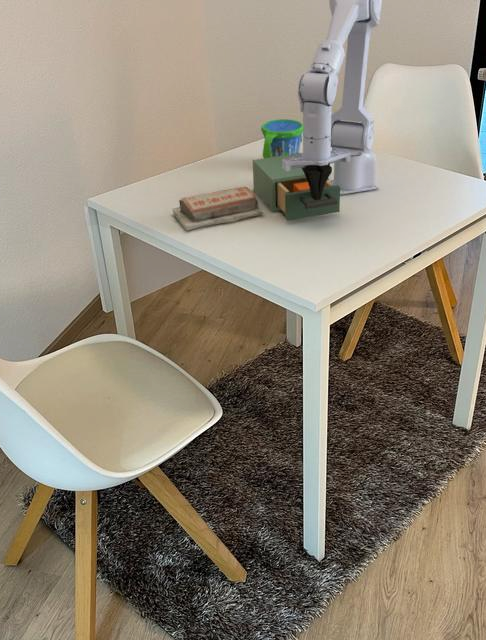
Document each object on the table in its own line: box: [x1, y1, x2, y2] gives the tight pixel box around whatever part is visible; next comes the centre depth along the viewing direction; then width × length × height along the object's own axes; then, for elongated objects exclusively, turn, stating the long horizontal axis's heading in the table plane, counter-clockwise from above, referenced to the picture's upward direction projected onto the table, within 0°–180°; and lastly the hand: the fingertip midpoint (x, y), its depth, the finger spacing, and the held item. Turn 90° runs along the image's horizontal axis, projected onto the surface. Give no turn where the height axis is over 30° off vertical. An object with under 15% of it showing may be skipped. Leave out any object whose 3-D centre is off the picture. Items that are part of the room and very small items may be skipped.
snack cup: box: [260, 118, 303, 159], centre depth 186 cm, size 16×10×10 cm
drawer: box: [275, 178, 341, 222], centre depth 160 cm, size 17×12×6 cm
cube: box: [293, 182, 310, 192], centre depth 161 cm, size 4×4×4 cm
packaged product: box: [171, 186, 263, 231], centre depth 161 cm, size 18×5×10 cm
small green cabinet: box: [252, 152, 330, 213], centre depth 169 cm, size 14×14×8 cm
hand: (316, 198), depth 155 cm, fingers closed
